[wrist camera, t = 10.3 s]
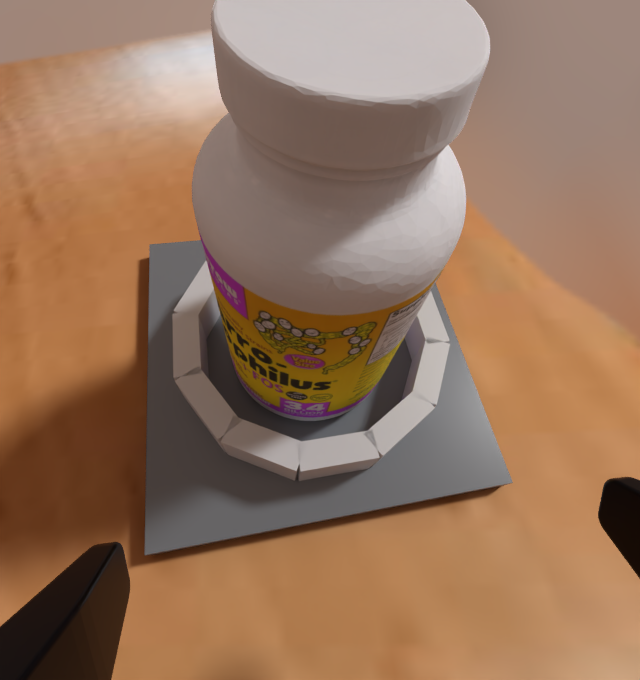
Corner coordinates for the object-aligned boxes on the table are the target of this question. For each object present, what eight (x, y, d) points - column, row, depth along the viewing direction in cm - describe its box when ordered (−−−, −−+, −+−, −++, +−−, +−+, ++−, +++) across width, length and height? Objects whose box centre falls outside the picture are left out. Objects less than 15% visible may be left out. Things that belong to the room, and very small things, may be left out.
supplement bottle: (201, 357, 17) (47, -6, 6) (301, 270, 20) (325, -96, 9) (317, 461, 16) (404, 224, 4) (410, 350, 18) (612, 27, 7)
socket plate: (502, 485, 17) (540, 473, 14) (151, 555, 14) (124, 555, 12) (408, 233, 23) (423, 194, 21) (154, 255, 21) (137, 214, 18)
